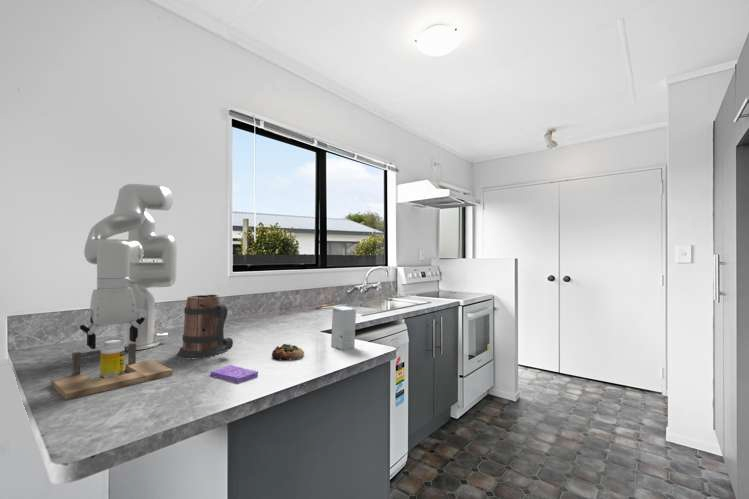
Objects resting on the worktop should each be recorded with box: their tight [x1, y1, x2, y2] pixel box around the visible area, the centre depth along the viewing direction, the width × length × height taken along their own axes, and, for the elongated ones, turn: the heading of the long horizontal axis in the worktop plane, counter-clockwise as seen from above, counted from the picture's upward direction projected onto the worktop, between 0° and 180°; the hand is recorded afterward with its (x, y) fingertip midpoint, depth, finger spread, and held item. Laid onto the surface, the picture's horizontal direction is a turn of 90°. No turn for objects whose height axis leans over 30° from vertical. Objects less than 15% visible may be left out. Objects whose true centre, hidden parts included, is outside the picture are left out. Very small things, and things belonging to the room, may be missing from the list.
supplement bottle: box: [99, 339, 126, 379], centre depth 104 cm, size 6×6×10 cm
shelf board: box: [50, 343, 174, 401], centre depth 102 cm, size 24×17×8 cm
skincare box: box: [330, 305, 357, 351], centre depth 139 cm, size 8×6×15 cm
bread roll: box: [271, 343, 305, 362], centre depth 126 cm, size 11×11×5 cm
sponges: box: [209, 364, 259, 384], centre depth 106 cm, size 7×13×2 cm, turn 58°
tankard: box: [175, 294, 234, 360], centre depth 130 cm, size 24×17×20 cm
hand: (113, 344), depth 104 cm, fingers open, 9 cm apart
